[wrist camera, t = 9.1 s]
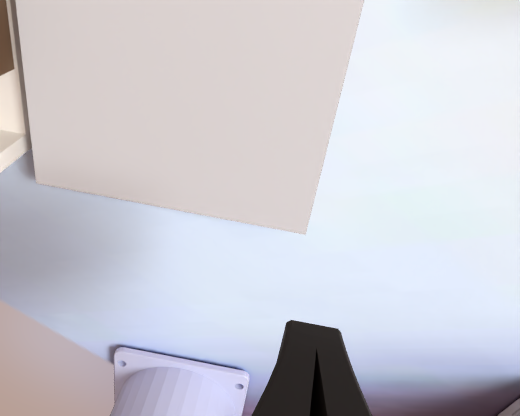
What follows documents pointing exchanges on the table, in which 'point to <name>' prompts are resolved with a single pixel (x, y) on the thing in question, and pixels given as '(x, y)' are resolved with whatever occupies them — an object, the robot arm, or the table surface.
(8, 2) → the box
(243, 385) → the robot arm
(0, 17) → the brown square block
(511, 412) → the coffee box
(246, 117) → the beige board
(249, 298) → the table surface
